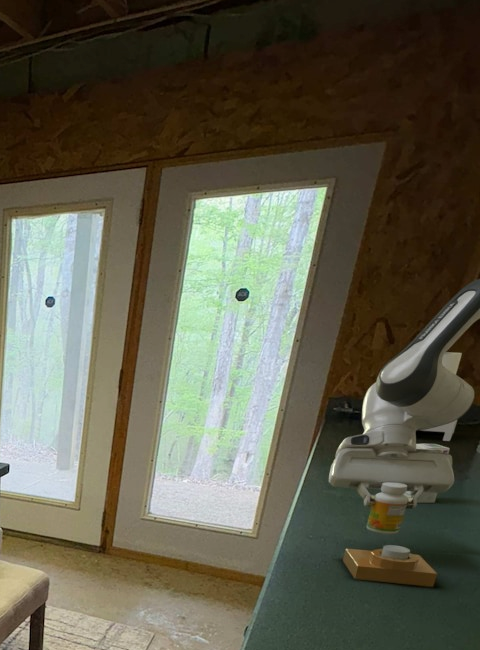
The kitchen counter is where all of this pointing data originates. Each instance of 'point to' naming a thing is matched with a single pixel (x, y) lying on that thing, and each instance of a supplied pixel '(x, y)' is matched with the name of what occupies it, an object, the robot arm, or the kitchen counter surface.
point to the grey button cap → (395, 552)
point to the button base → (389, 568)
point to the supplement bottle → (388, 509)
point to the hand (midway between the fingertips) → (389, 506)
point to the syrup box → (427, 496)
